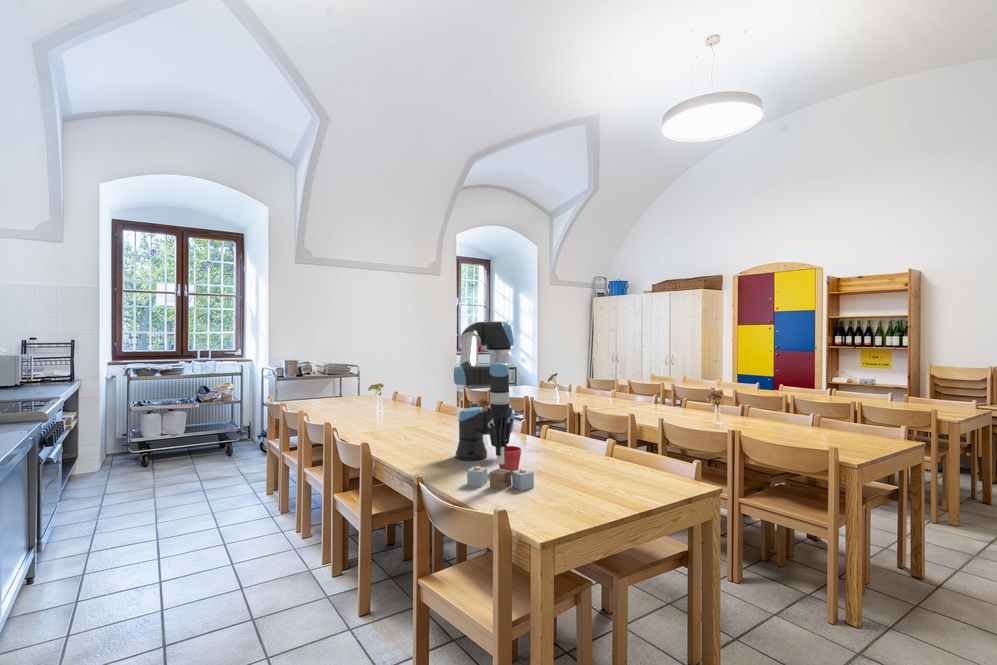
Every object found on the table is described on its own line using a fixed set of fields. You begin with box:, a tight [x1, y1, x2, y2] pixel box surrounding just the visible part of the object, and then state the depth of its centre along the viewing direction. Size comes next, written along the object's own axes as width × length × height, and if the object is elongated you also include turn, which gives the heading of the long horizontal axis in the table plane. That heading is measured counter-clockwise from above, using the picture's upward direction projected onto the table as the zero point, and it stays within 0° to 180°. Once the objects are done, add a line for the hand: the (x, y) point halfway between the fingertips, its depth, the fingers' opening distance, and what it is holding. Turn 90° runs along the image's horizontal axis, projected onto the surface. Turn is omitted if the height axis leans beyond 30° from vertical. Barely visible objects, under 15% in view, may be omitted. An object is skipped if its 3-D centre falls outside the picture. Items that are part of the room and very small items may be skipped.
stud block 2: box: [511, 468, 535, 492], centre depth 193 cm, size 6×6×7 cm
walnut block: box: [489, 468, 512, 491], centre depth 194 cm, size 6×6×6 cm
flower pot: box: [498, 445, 522, 474], centre depth 216 cm, size 11×11×10 cm
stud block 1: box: [466, 465, 488, 488], centre depth 198 cm, size 6×6×7 cm
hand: (500, 463), depth 195 cm, fingers closed
